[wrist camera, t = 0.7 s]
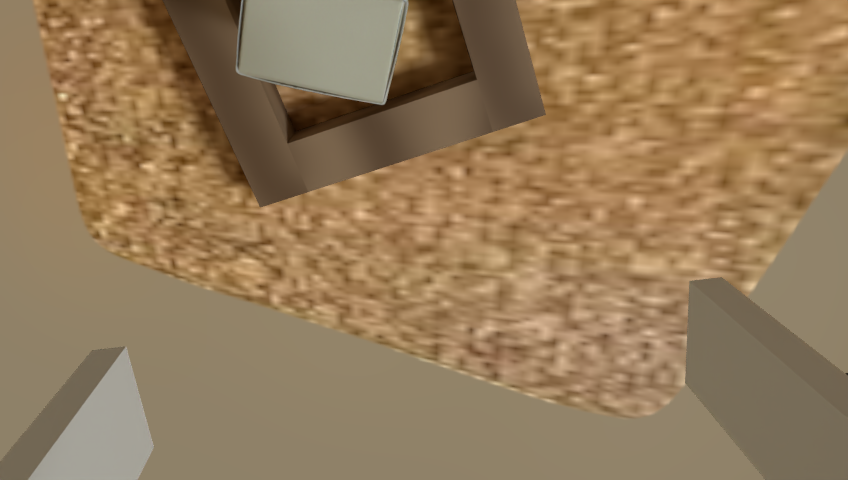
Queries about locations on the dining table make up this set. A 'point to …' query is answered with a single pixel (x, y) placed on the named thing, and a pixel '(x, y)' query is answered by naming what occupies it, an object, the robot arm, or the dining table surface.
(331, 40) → the skincare box
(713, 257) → the dining table surface
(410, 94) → the stand
